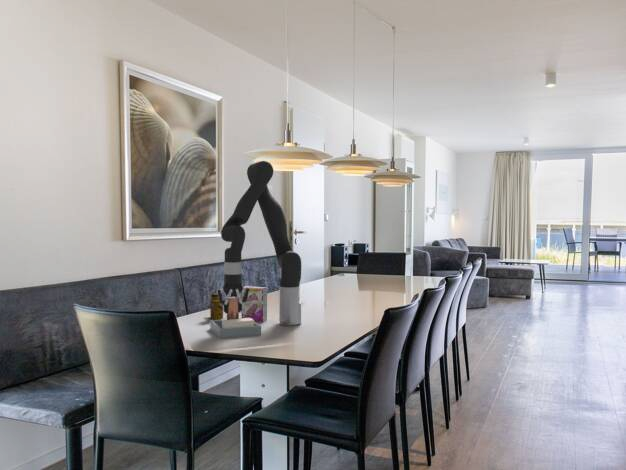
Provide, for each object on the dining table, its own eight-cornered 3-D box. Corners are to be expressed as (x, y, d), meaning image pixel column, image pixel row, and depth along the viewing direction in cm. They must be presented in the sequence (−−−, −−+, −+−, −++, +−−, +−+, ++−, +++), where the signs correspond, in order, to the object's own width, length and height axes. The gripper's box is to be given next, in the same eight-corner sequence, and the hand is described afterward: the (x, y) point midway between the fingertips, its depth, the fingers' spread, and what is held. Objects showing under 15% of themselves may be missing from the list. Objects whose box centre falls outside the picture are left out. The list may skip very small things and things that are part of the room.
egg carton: (250, 331, 214) (250, 317, 213) (254, 334, 209) (254, 320, 209) (221, 334, 209) (221, 320, 209) (224, 336, 204) (224, 322, 204)
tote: (248, 327, 225) (248, 317, 225) (261, 336, 208) (261, 326, 208) (210, 331, 218) (210, 320, 218) (220, 341, 201) (219, 329, 201)
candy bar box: (240, 322, 236) (240, 287, 235) (245, 320, 240) (245, 285, 240) (262, 324, 232) (262, 288, 231) (267, 322, 237) (267, 287, 236)
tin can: (237, 317, 219) (237, 296, 219) (240, 320, 214) (240, 298, 214) (225, 318, 217) (225, 297, 217) (228, 321, 212) (228, 299, 212)
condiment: (226, 319, 243) (226, 294, 243) (209, 321, 239) (209, 295, 238) (220, 316, 249) (220, 292, 249) (203, 318, 245) (203, 293, 244)
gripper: (218, 274, 209) (217, 315, 209) (251, 273, 214) (251, 313, 215) (214, 272, 216) (214, 312, 216) (247, 271, 221) (246, 310, 222)
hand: (232, 312), depth 216 cm, fingers closed on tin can, 5 cm apart
